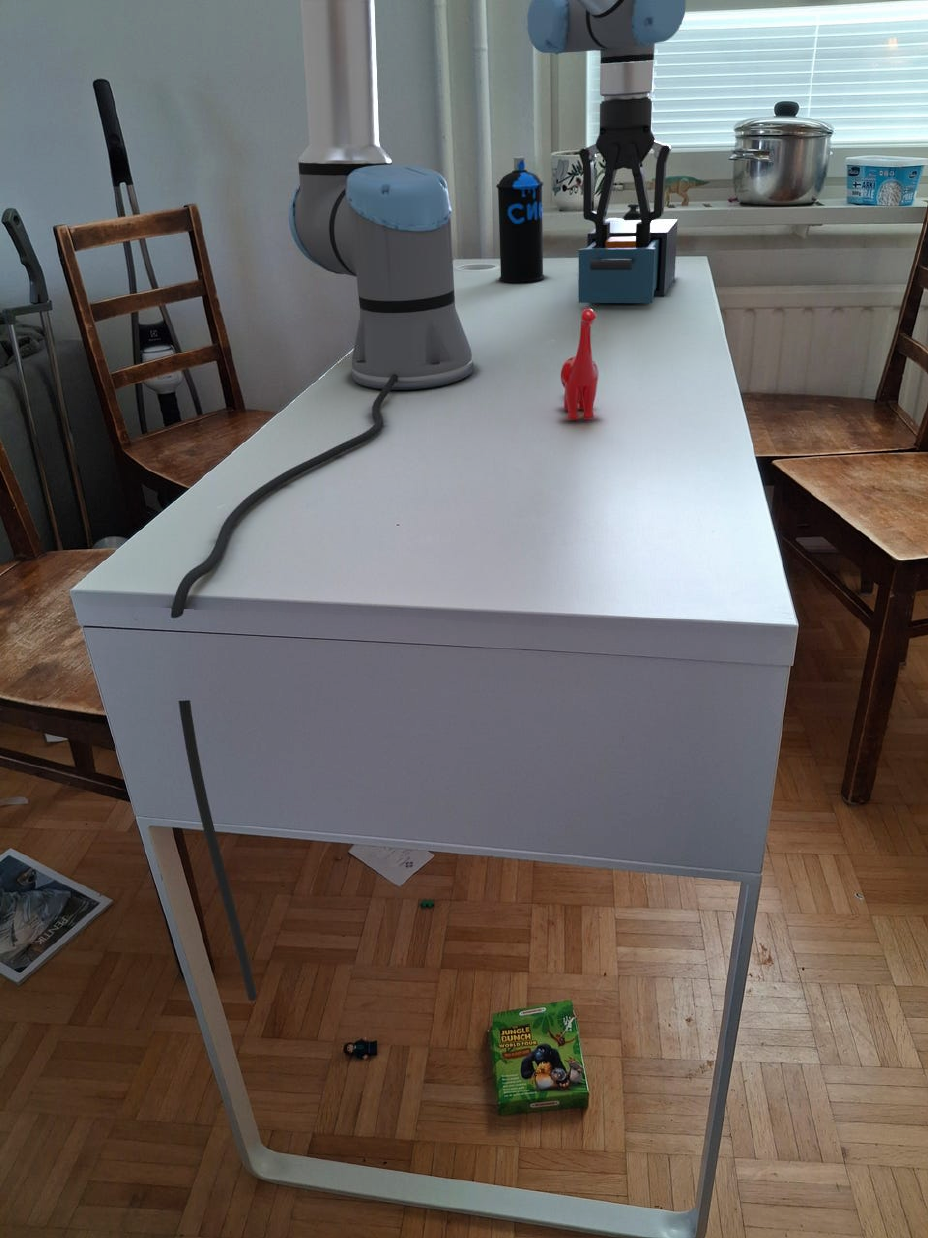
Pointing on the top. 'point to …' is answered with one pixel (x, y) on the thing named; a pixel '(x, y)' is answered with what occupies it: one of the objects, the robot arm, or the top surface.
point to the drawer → (619, 273)
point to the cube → (621, 242)
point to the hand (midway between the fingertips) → (621, 267)
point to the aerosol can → (520, 225)
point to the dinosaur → (581, 373)
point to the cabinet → (658, 230)
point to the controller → (632, 213)
